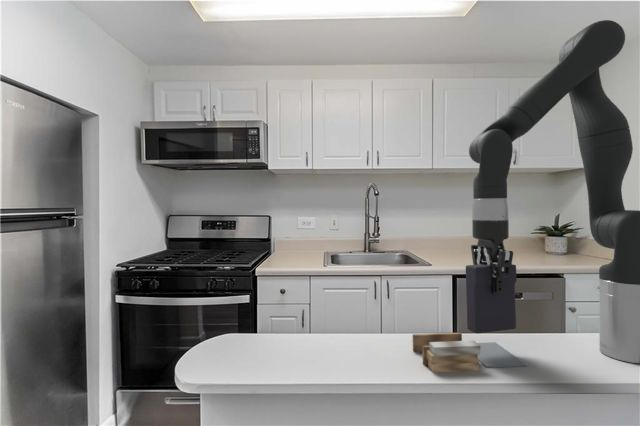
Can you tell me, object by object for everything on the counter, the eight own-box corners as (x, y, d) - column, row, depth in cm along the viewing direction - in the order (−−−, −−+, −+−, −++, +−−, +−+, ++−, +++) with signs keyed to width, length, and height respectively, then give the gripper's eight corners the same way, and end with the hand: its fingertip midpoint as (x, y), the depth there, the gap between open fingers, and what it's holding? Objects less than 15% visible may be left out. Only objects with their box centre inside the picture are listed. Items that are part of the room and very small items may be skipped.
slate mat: (495, 343, 86) (495, 342, 86) (526, 365, 74) (526, 364, 74) (460, 345, 85) (460, 343, 85) (486, 367, 73) (486, 365, 73)
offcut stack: (474, 364, 75) (473, 340, 75) (480, 370, 72) (480, 345, 72) (426, 366, 74) (426, 342, 74) (431, 373, 72) (431, 347, 71)
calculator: (504, 324, 82) (502, 262, 83) (518, 329, 78) (516, 264, 78) (465, 328, 80) (463, 264, 80) (477, 334, 75) (475, 267, 76)
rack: (460, 348, 83) (460, 332, 83) (476, 363, 75) (476, 345, 75) (412, 350, 82) (412, 334, 82) (423, 365, 75) (423, 347, 75)
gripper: (525, 219, 72) (526, 299, 72) (488, 217, 86) (489, 284, 86) (491, 219, 71) (492, 300, 72) (460, 217, 86) (460, 284, 86)
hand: (490, 291), depth 79 cm, fingers closed on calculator, 4 cm apart
